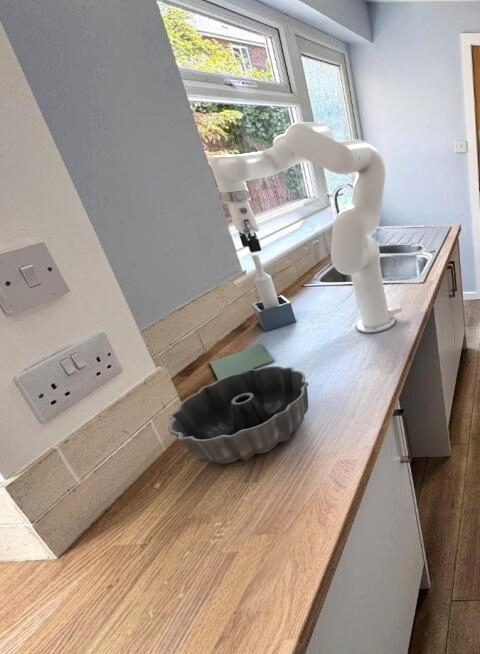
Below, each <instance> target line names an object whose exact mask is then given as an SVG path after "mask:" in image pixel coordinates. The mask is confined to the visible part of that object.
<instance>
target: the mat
mask: <svg viewBox="0 0 480 654" xmlns="http://www.w3.org/2000/svg"><path fill="white" fill-rule="evenodd" d="M272 363H274V360H273V358H272V357H271V356H270V355H269V353H268V352H267V351H266V350H265V348H264V347H263V346H262V344H258V345H255V346H252V347H250V348H246V349H243V350H241V351H238V352H235V353H232V354H229V355H226V356H224V357H220V358H217V359H214V360H212V361H209V365H210V366H211V368H212V371H213V372H214V374H215V375H214V376H216V378H217V381H218V380H220V379H222V378H224V377H227V376H230V375H233V374H237V373H243V372H245V371H247V370H249V369H259V368H262V367H264V366H266V365H268V364H272Z"/></svg>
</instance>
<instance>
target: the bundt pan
mask: <svg viewBox="0 0 480 654" xmlns="http://www.w3.org/2000/svg"><path fill="white" fill-rule="evenodd" d="M309 385H310V384H309V382H308V381H307V380H306V374H305V373H304V372H303V371H301V370H295V369H294V367H293V366H289V367H283V366H278V365H272V366H265V367H264V366H263V367H259V368H256V369H249V370H247V371H245V372H243V373H237V374H233V375H230V376H227V377H224V378H222V379H220V380H218V379H217V380H216V381H215V382H213V383H211V384H208V385H205V386H202V387H201V388H200V389H199V390H198V392H196V393H193V394H191V395H190V396H188V397H186V398H185V399H184V400H183V401H182V402H180V404H179V405H178V407H177V410H176V411H174V412H172V414H170V415H168V418H169V420H170V423H168V426H167V430H168V432H169V433H170V434H171V435H172V436H175V437H176V438H177V439H178V441H179V442H180V443H181V444H182V446H184V448H185V449H186V450H187V451H188V452H189V453H190V454H192V455H193V456H194V457H195V459H196V460H198V461H199V462H203V463H212V462H213V463H217V464H229V463H233V462H235V461H237V460H239V459H240V460H242V461H249V460H250V459H251V458H253V456H255V455H256V454H264V453H267V452H269V451H271V450H272V449H274V448H275V447H276V446H277V445H278V443H280V442H286V441H289V439H290V437H291V435H292V433H293V432H295V431H296V430H298V429H299V428H300V426H301V425H302V423H303V421H304V419H305V415H306V414H307V412H308V410H309V395H308V386H309Z"/></svg>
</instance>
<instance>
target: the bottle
mask: <svg viewBox="0 0 480 654" xmlns="http://www.w3.org/2000/svg"><path fill="white" fill-rule="evenodd" d="M251 258H252V261H253V264H254V267H255V269H256V273H257V274H256V277H255V278H254V279H253V281H254V283H255V286H256V289H257V291H258V295H259V297H260V301H262V303H263V305H264V308H265V309H268V308H271V307H275V306H278V305H279V302H278V298H277V296H278V295H277V291H276V289H275V285H274V282H273V279H272V276H271V275H269V274H267V273H266V272H265V270H264V268H263V265H262V261H261V257H260V255H259V253H253V254H251Z"/></svg>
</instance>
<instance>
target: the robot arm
mask: <svg viewBox="0 0 480 654" xmlns="http://www.w3.org/2000/svg"><path fill="white" fill-rule="evenodd" d="M306 161H308V162H310V163H311V164H315V165H316V166H319V167H321V168H323V169H325V170H327V171H329V172H331V173H335V174H337V175H348V174H352V173H356V178H355V181H354V183H353V187H352V197H351V204H350V205H349V207H346V208H345V209H343V210H341V211H340V212H338V213H337V215H336V216H335V218H334V219H333V220H334V221H333V224H332V235H331V244H330V245H331V246H330V260H331V264H332V266H333V267H334V269H335V270H336V271H337V272H338V273H340V274H342V275H346V276H350V277H351V282H352V283H351V284H352V288H353V292H354V297H355V301H356V305H357V310H358V315H359V318H360V320H359V321H358V322H357V324H356V327H357V330H358V331H360V332H362V333H369V334H371V333H378V332H382V331H385V330H388V329H390V328H391V327H392V326H394V325H395V323H396V320H395V319H396V318H395V317H394V316H395V315H396V314H400V313H402V312H403V309H402V306H398V307H395V306H392V307H388V301H387V296H386V292H385V285H384V281H383V280H384V279H383V275H382V269H381V251H380V246H379V244H378V242H377V241H376V239H374V237H372V236H370V235H371V234H373V233H375V231H377V229H378V228H379V226H380V220H381V213H382V205H383V195H384V188H385V182H386V181H385V180H386V164H385V162H384V159H383V157H382V155H381V153H380V152H379V150H377V148H376V147H375V146H373V145H372V144H371V143H369V142H367V141H365V140H362V139H348V140H340V141H338V140H336V139H335V136H334V133H333V131H332V130H331V129H330V127H328V126H327V125H326V124H324V123H321V122H319V121H318V122H317V121H299V122H295V123H291V125H289V127H288V128H286V131H285V133H283V134H280V135H278V136H276V137H275V138H274V139H273V141H272V146H271V147H269V148H266V149H264V150H260V151H257V152H249V153H242V154H220V155H213V156H210V157H209V165H210V168H211V170H212V173H213V176H214V180H215V182H216V185H217V188H218V191H219V195H220V198H221V201H222V203H223V204H227V206H228V208H229V209H228V210H229V212H230V216H231V219H232V222H233V225H234V227H235V229H236V231H237V232H238V234H239V239H240V242H241V245H242V247H243V248H246V247H248V249H249V252H250V253H253V254H254V253H257V252H261V251H262V248H261V244H260V240H259V238H258V235H257V233H256V232H259V231H260V229H259V226H258V223H257V221H256V217H255V213H254V211H253V209H252V207H251V205H250V201H251V200H252V199H251V196H250V192H249V190H248V187H247V183H246V182H248V181H253V180H259V179H263V178H269V177H271V176H274V175H277V174H279V173H282V172H284V171H286V170H289V169H291V168H292V167H294V166H296V165H299V164H301V163H303V162H306Z"/></svg>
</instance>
